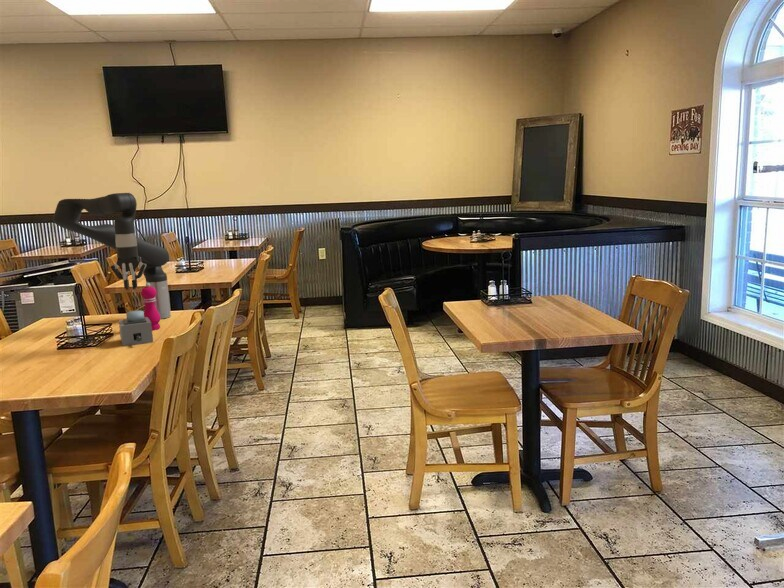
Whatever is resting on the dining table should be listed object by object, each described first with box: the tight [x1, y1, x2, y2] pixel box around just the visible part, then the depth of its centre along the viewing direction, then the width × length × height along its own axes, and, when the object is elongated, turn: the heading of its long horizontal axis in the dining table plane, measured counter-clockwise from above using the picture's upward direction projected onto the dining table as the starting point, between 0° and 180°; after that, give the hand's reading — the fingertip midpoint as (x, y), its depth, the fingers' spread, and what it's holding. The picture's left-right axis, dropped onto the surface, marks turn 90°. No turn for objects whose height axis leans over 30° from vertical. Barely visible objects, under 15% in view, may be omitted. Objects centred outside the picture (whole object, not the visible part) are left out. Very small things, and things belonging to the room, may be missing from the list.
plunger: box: [134, 333, 141, 342], centre depth 245 cm, size 8×2×2 cm, turn 27°
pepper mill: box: [140, 283, 161, 331], centre depth 268 cm, size 7×7×20 cm
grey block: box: [118, 317, 154, 347], centre depth 250 cm, size 11×11×9 cm
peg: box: [126, 310, 145, 339], centre depth 250 cm, size 6×6×11 cm
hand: (131, 289), depth 247 cm, fingers closed
